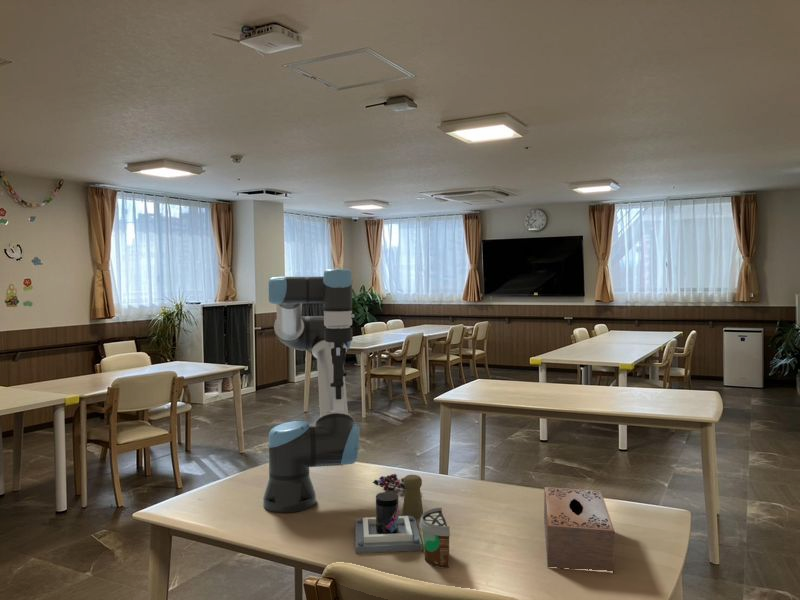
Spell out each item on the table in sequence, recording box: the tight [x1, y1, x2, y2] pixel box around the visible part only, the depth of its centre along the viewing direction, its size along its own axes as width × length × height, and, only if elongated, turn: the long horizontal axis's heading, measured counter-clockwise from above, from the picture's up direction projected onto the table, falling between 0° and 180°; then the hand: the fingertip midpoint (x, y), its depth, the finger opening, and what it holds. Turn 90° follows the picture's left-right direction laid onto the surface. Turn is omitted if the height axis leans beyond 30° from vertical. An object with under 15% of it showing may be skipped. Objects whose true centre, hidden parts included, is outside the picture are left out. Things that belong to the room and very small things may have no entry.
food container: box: [419, 507, 451, 569], centre depth 144 cm, size 12×6×10 cm, turn 5°
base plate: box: [354, 515, 423, 554], centre depth 156 cm, size 16×16×3 cm
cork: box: [401, 474, 424, 520], centre depth 170 cm, size 6×6×11 cm
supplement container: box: [375, 492, 400, 534], centre depth 155 cm, size 6×6×9 cm
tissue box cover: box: [543, 486, 615, 572], centre depth 150 cm, size 26×14×10 cm, turn 168°
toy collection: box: [372, 473, 405, 492], centre depth 190 cm, size 15×14×5 cm
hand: (339, 405), depth 164 cm, fingers open, 13 cm apart
